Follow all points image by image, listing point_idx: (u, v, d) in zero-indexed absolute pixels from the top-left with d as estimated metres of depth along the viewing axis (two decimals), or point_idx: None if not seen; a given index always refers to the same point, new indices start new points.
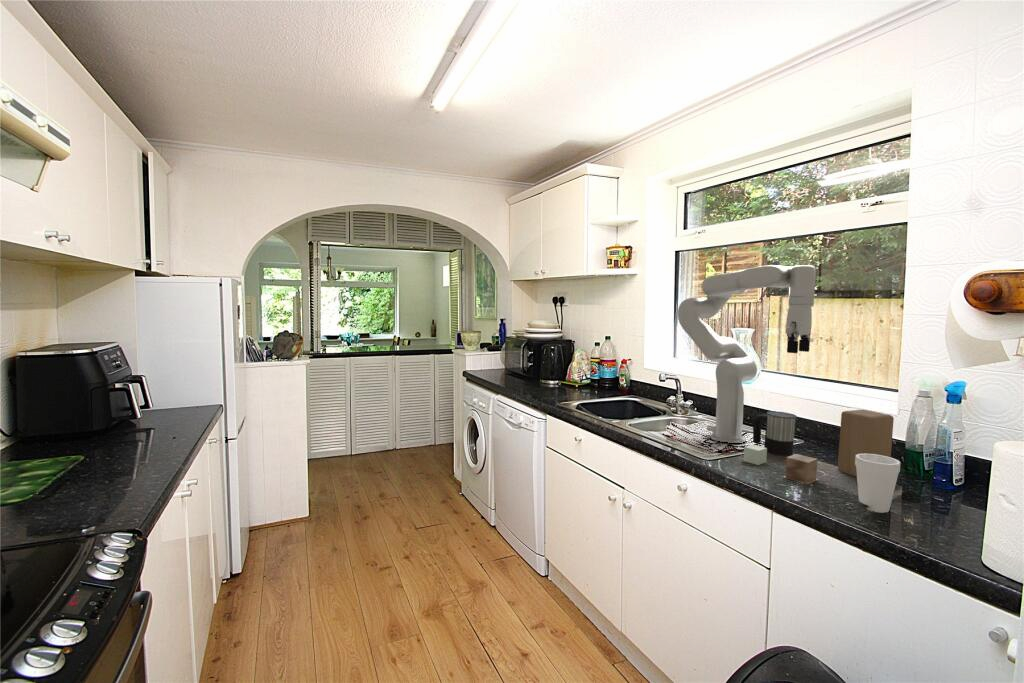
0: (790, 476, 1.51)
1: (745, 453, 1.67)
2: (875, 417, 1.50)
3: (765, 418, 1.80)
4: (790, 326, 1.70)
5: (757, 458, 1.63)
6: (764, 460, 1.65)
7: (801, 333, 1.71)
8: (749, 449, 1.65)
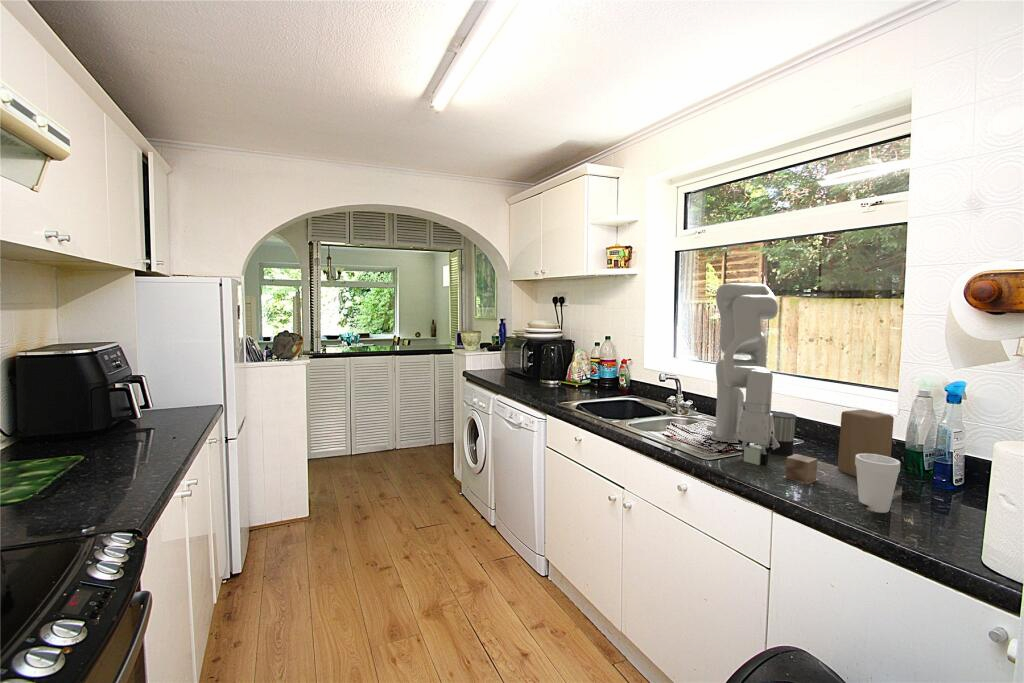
0: (790, 476, 1.51)
1: (745, 453, 1.67)
2: (875, 417, 1.50)
3: None
4: (776, 441, 1.61)
5: (757, 458, 1.63)
6: None
7: None
8: (749, 449, 1.65)
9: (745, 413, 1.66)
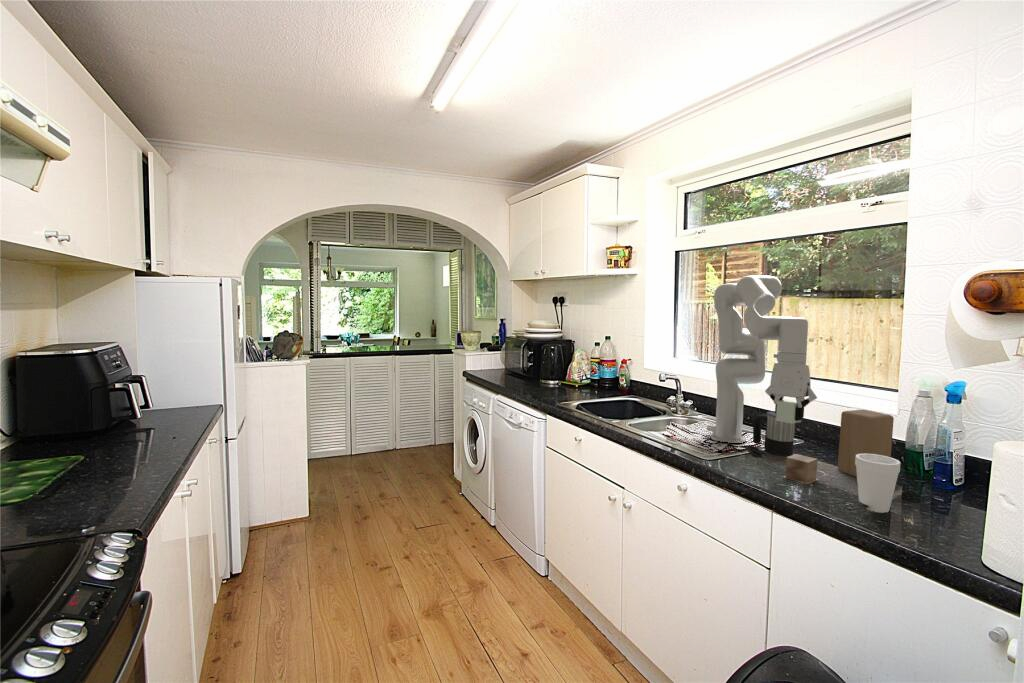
0: (790, 476, 1.51)
1: (778, 407, 1.55)
2: (875, 417, 1.50)
3: (765, 418, 1.80)
4: (813, 393, 1.49)
5: (792, 412, 1.51)
6: None
7: None
8: (783, 403, 1.53)
9: (778, 364, 1.54)
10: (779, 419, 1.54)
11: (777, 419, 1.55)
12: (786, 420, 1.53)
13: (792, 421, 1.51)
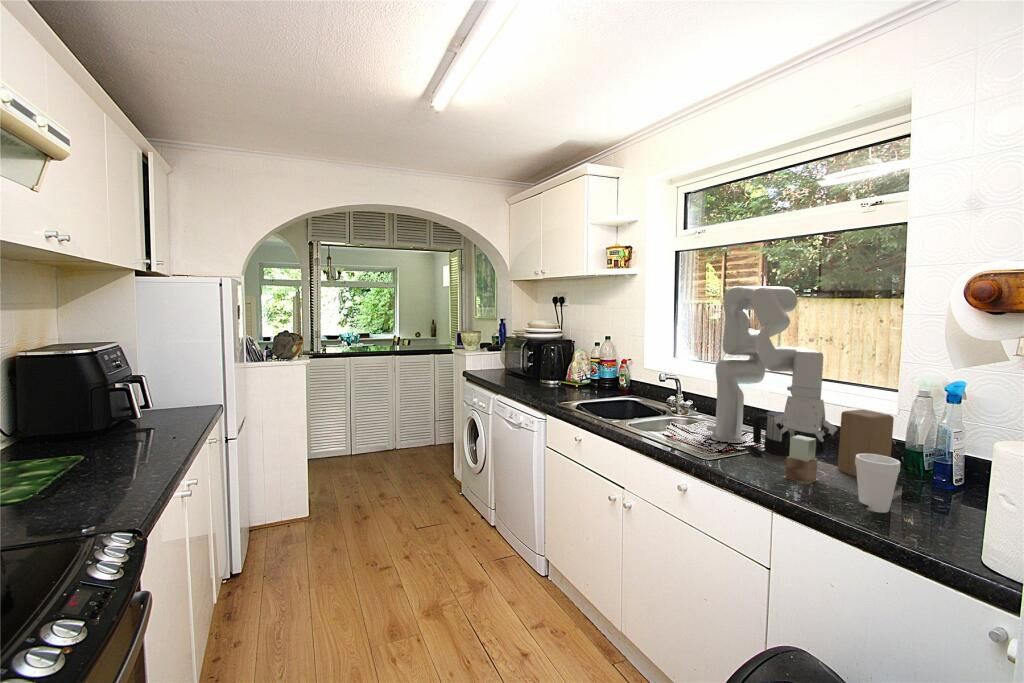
0: (790, 476, 1.51)
1: (792, 444, 1.51)
2: (875, 417, 1.50)
3: (765, 418, 1.79)
4: (832, 425, 1.44)
5: (806, 450, 1.48)
6: (813, 452, 1.50)
7: None
8: (796, 440, 1.50)
9: (792, 398, 1.50)
10: (792, 456, 1.51)
11: (790, 456, 1.51)
12: (800, 458, 1.49)
13: (806, 459, 1.48)
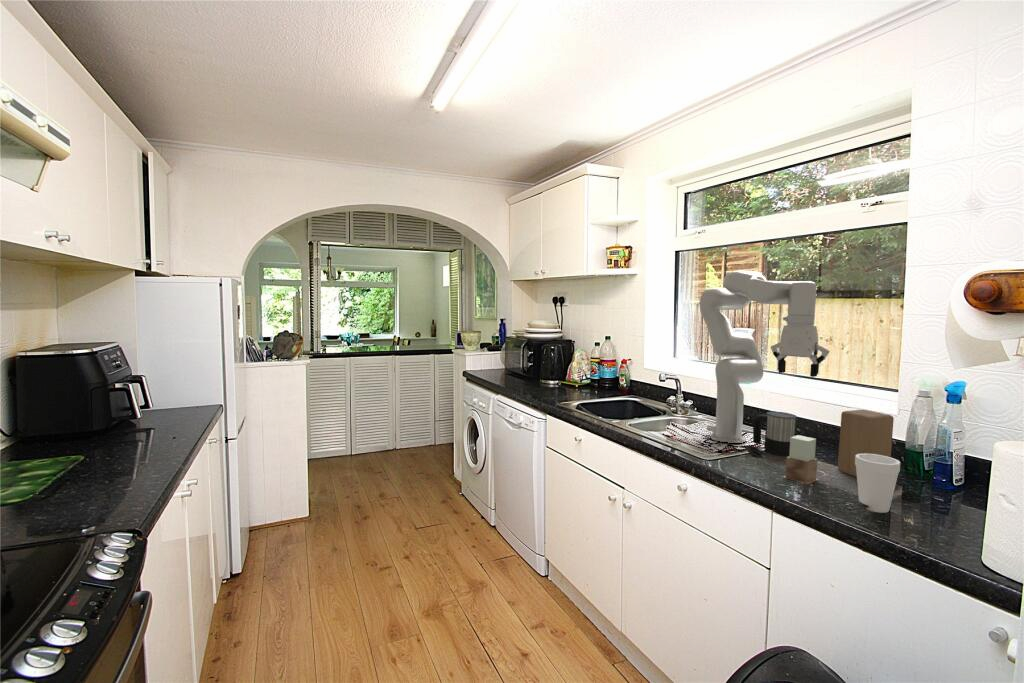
0: (790, 476, 1.51)
1: (792, 444, 1.51)
2: (875, 417, 1.50)
3: (765, 418, 1.79)
4: (824, 348, 1.56)
5: (806, 450, 1.48)
6: (813, 452, 1.50)
7: None
8: (796, 440, 1.50)
9: (787, 326, 1.62)
10: (792, 456, 1.51)
11: (790, 456, 1.51)
12: (800, 458, 1.49)
13: (806, 459, 1.48)
